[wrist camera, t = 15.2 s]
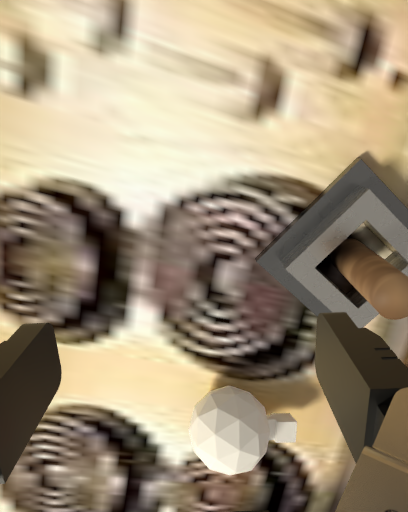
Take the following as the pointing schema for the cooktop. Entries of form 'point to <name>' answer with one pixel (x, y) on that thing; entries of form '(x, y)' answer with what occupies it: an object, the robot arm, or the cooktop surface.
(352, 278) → the dowel pin
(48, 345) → the robot arm
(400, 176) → the cooktop surface
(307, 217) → the plate
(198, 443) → the perfume bottle
